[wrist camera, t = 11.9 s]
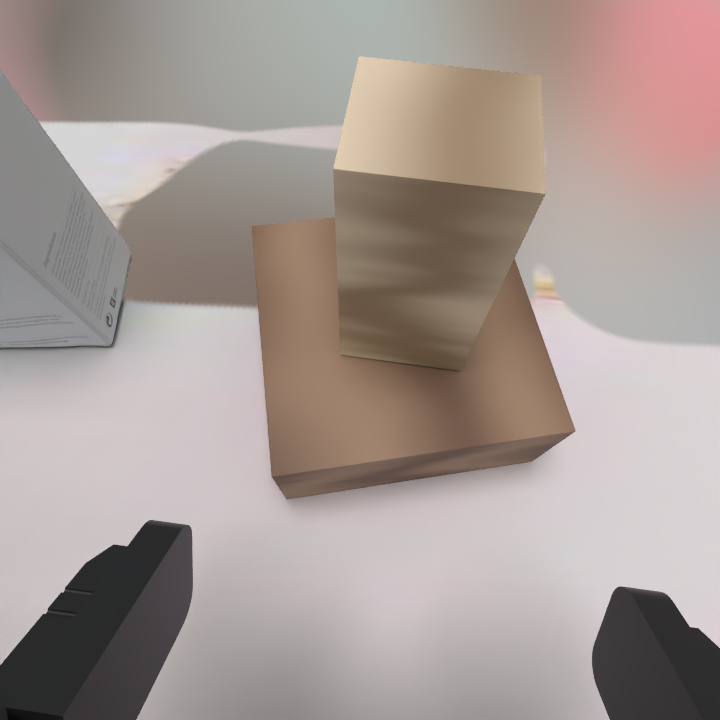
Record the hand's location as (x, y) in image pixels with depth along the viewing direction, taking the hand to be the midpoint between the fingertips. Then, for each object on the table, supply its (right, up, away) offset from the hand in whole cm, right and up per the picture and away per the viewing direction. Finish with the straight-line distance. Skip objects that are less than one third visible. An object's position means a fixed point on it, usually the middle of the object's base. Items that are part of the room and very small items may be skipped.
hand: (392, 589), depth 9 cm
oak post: (+1, +6, +10) cm, 12 cm away
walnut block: (+1, +4, +15) cm, 15 cm away
